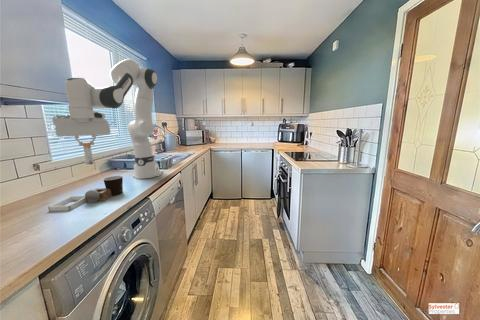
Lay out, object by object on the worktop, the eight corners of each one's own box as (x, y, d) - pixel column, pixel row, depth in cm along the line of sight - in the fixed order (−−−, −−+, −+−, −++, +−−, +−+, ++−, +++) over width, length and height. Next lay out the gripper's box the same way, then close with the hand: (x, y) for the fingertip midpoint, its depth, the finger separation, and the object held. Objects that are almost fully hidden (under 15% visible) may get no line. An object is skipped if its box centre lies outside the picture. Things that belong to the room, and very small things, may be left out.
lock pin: (90, 163, 101) (87, 142, 99) (95, 163, 100) (91, 142, 98) (84, 164, 98) (81, 143, 97) (89, 164, 98) (85, 143, 96)
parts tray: (72, 201, 103) (71, 196, 103) (90, 201, 104) (89, 195, 103) (49, 213, 91) (47, 206, 90) (70, 212, 91) (69, 205, 90)
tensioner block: (97, 197, 108) (95, 184, 107) (113, 197, 108) (111, 183, 107) (84, 205, 98) (81, 191, 97) (101, 204, 98) (99, 190, 97)
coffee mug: (119, 199, 106) (116, 179, 104) (102, 199, 106) (99, 180, 104) (131, 191, 118) (128, 174, 116) (116, 191, 118) (113, 174, 116)
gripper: (50, 114, 87) (57, 148, 89) (108, 114, 99) (112, 143, 101) (52, 115, 91) (58, 146, 94) (107, 115, 104) (111, 143, 106)
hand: (86, 145), depth 98 cm, fingers closed on lock pin, 3 cm apart
